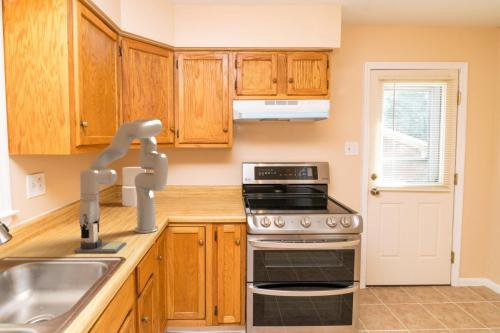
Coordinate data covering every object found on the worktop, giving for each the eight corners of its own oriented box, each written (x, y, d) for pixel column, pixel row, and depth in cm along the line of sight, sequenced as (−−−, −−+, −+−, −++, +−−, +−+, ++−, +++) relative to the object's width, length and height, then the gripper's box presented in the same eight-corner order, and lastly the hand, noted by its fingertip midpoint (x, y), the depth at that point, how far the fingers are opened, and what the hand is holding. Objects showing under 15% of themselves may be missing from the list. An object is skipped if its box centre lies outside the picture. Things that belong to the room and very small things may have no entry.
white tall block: (127, 201, 262) (127, 166, 260) (149, 202, 261) (148, 167, 259) (118, 206, 245) (117, 168, 243) (141, 206, 244) (140, 168, 242)
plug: (89, 245, 151) (88, 223, 150) (97, 245, 151) (97, 223, 150) (84, 247, 147) (84, 225, 146) (93, 247, 147) (93, 225, 146)
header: (87, 244, 155) (87, 237, 154) (126, 244, 155) (126, 237, 155) (74, 253, 143) (74, 245, 142) (116, 253, 143) (116, 245, 143)
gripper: (90, 194, 155) (90, 230, 156) (71, 200, 138) (71, 240, 139) (106, 194, 156) (106, 230, 157) (89, 200, 138) (89, 240, 139)
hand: (90, 235), depth 148 cm, fingers open, 9 cm apart
